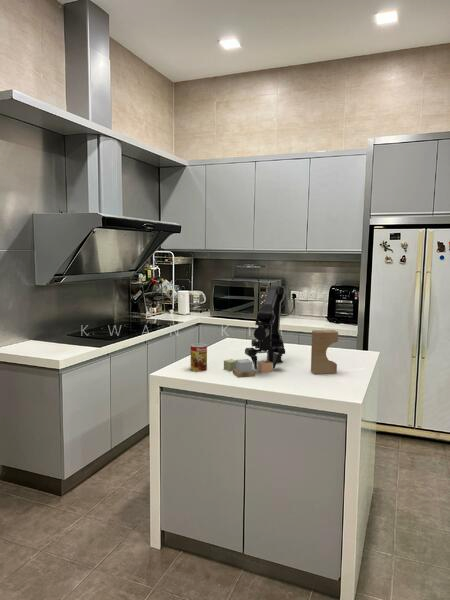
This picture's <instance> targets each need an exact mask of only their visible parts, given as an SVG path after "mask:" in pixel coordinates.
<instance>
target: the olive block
mask: <svg viewBox="0 0 450 600" xmlns="http://www.w3.org/2000/svg"><path fill="white" fill-rule="evenodd" d="M236 360H237V359H233V358H230V359H225V360H223V370H225V371H228V372H230V373H231V372H233V369H236Z"/></svg>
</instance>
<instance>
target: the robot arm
mask: <svg viewBox="0 0 450 600" xmlns="http://www.w3.org/2000/svg"><path fill="white" fill-rule="evenodd" d="M286 295H287V289H286V287H285V286H284V285H271V286H268V289H267V295H266V298H265V301H264V305H262V306H261V307H260V308H259V310H258V312H257V314H256V320H255V326H257V328H255V329H254V331H253V336H254V339H251V343H250V344H251V347H246V348H245V349H244V354H245V355H246V356H248V357H250V359H251V361H252V365H253V367H254V369H255V370H257V361H258V355H257V354H266V360H268V361H270V362H272V369H275V368H276V366H277V364H278V363H283V361H282V356H283V355H286V349H285V344H284V341H283V335H282V334H281V332H280V325H281V324H280V323H281V310H282V302H284V300H285V296H286ZM254 347H255V348H254Z"/></svg>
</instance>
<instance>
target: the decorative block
mask: <svg viewBox="0 0 450 600" xmlns="http://www.w3.org/2000/svg"><path fill="white" fill-rule="evenodd" d="M338 342H339V332H338V330H334V329H319V330H318V329H317V330H316V329H314V330H312V332H311V351H310V352H311V354H310V355H311V358H310V372H311V373H312V374H314V375H331V374H332V375H334V374H337V373H338V369H337V368H338V364H337V362H335V361H333V360H329V358H328V357H327V350H328V348H329V347H330V346H332V344H333V343H338Z"/></svg>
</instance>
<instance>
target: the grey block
mask: <svg viewBox="0 0 450 600" xmlns="http://www.w3.org/2000/svg"><path fill="white" fill-rule="evenodd" d="M235 360H236V370H237V371H239V372H252V370H253V361H252V360H250V359H248V358H247V359H246V358H245V359H244V358H241V359H235Z"/></svg>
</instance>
